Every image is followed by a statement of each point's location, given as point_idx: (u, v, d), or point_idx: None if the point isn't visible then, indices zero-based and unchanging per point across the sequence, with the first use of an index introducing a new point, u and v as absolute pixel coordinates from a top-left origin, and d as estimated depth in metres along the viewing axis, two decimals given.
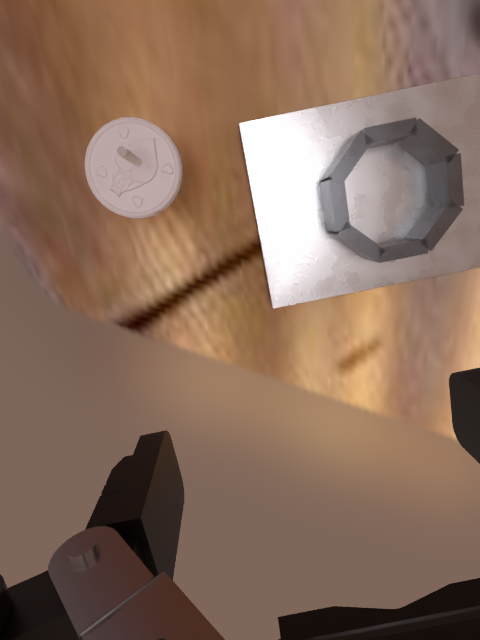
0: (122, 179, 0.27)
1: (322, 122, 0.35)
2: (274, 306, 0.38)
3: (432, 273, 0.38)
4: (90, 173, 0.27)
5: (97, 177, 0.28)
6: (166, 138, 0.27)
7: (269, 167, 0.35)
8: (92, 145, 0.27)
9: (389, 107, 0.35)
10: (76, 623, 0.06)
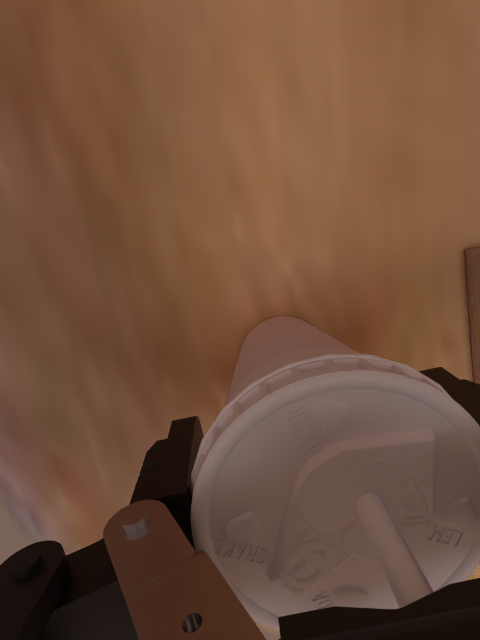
0: (313, 556, 0.08)
1: None
2: None
3: None
4: (207, 532, 0.08)
5: (230, 543, 0.08)
6: (473, 432, 0.08)
7: None
8: (221, 460, 0.08)
9: None
10: (123, 586, 0.06)
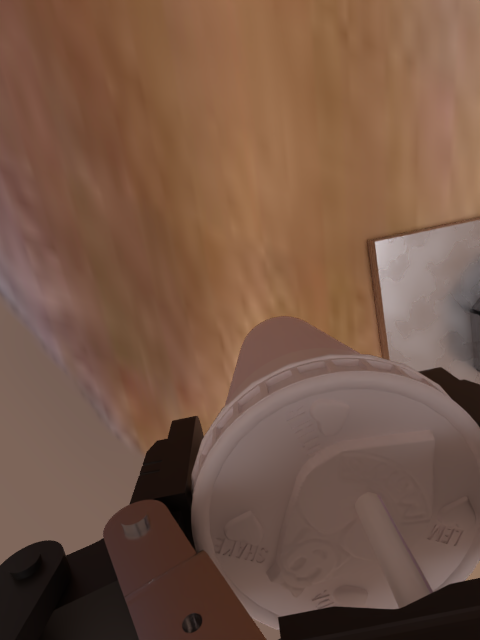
0: (313, 556, 0.08)
1: None
2: None
3: None
4: (207, 532, 0.08)
5: (230, 542, 0.09)
6: (472, 432, 0.08)
7: (409, 294, 0.28)
8: (221, 460, 0.08)
9: None
10: (123, 586, 0.06)
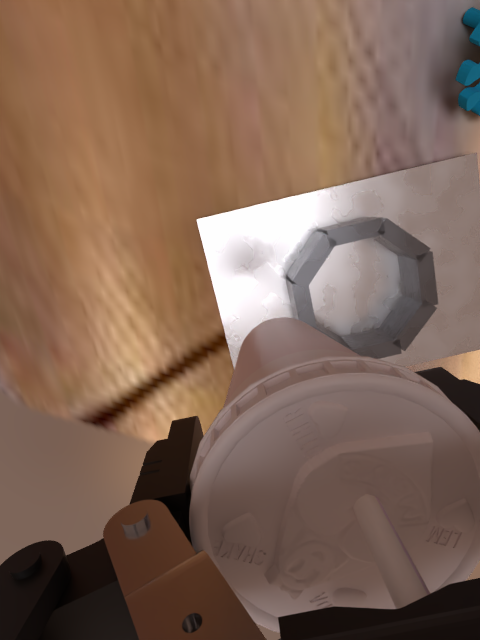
0: (312, 558, 0.08)
1: (285, 215, 0.33)
2: None
3: (409, 362, 0.36)
4: (205, 534, 0.08)
5: (228, 544, 0.09)
6: (470, 434, 0.08)
7: (231, 263, 0.33)
8: (220, 462, 0.08)
9: (356, 197, 0.32)
10: (123, 587, 0.06)
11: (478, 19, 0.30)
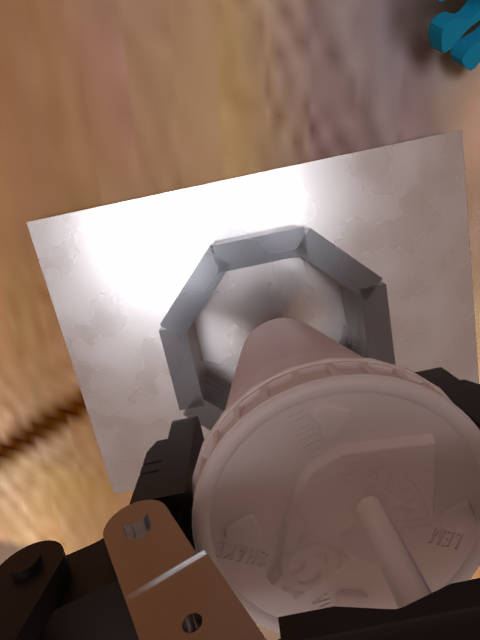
0: (314, 560, 0.08)
1: (166, 219, 0.21)
2: (116, 490, 0.25)
3: None
4: (207, 535, 0.08)
5: (231, 546, 0.09)
6: (473, 436, 0.08)
7: (85, 290, 0.22)
8: (222, 463, 0.08)
9: (275, 194, 0.21)
10: (123, 587, 0.06)
11: None
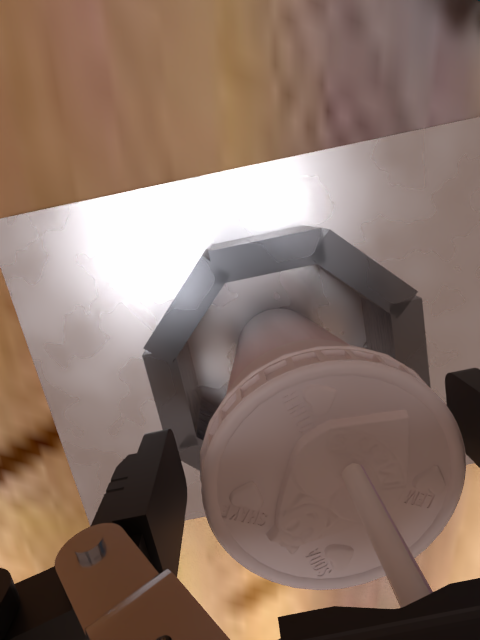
0: (306, 518, 0.10)
1: (152, 218, 0.18)
2: None
3: None
4: (215, 500, 0.10)
5: (234, 509, 0.10)
6: (441, 411, 0.09)
7: (57, 303, 0.18)
8: (227, 438, 0.09)
9: (284, 188, 0.17)
10: (82, 619, 0.06)
11: None
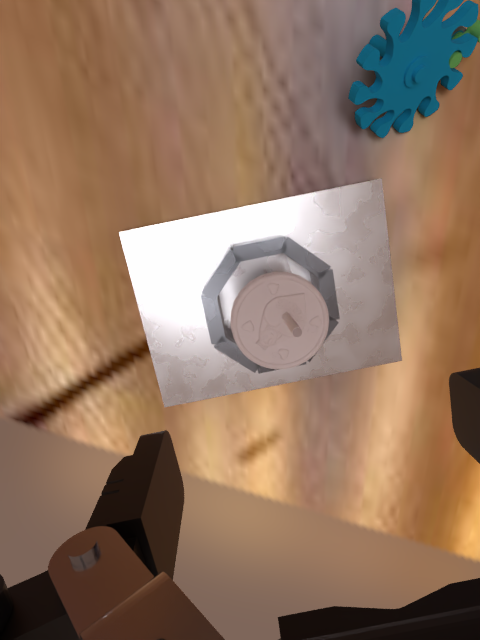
0: (269, 334, 0.27)
1: (203, 230, 0.35)
2: (166, 405, 0.38)
3: (323, 372, 0.38)
4: (236, 327, 0.27)
5: (243, 332, 0.27)
6: (316, 293, 0.26)
7: (152, 273, 0.35)
8: (241, 302, 0.26)
9: (269, 216, 0.35)
10: (76, 623, 0.06)
11: (380, 46, 0.32)
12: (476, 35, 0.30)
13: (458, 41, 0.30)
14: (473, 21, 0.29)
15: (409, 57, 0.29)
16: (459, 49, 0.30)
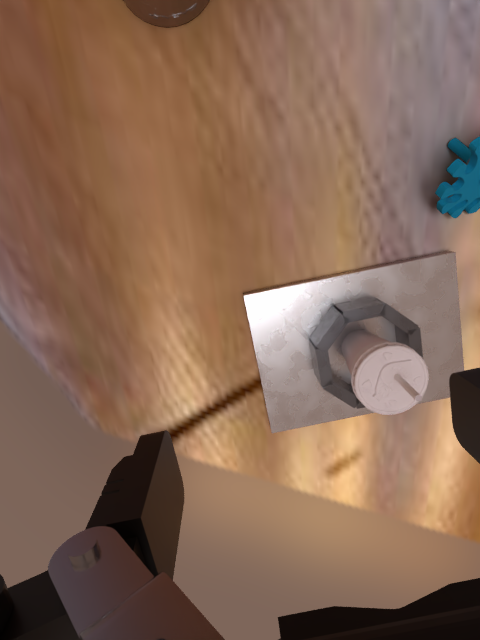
0: (384, 390, 0.35)
1: (310, 294, 0.43)
2: (273, 431, 0.47)
3: None
4: (358, 385, 0.35)
5: (363, 388, 0.35)
6: (420, 359, 0.35)
7: (268, 328, 0.44)
8: (363, 366, 0.35)
9: (364, 282, 0.43)
10: (76, 624, 0.06)
11: (458, 148, 0.40)
12: None
13: None
14: None
15: None
16: None
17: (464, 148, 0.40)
